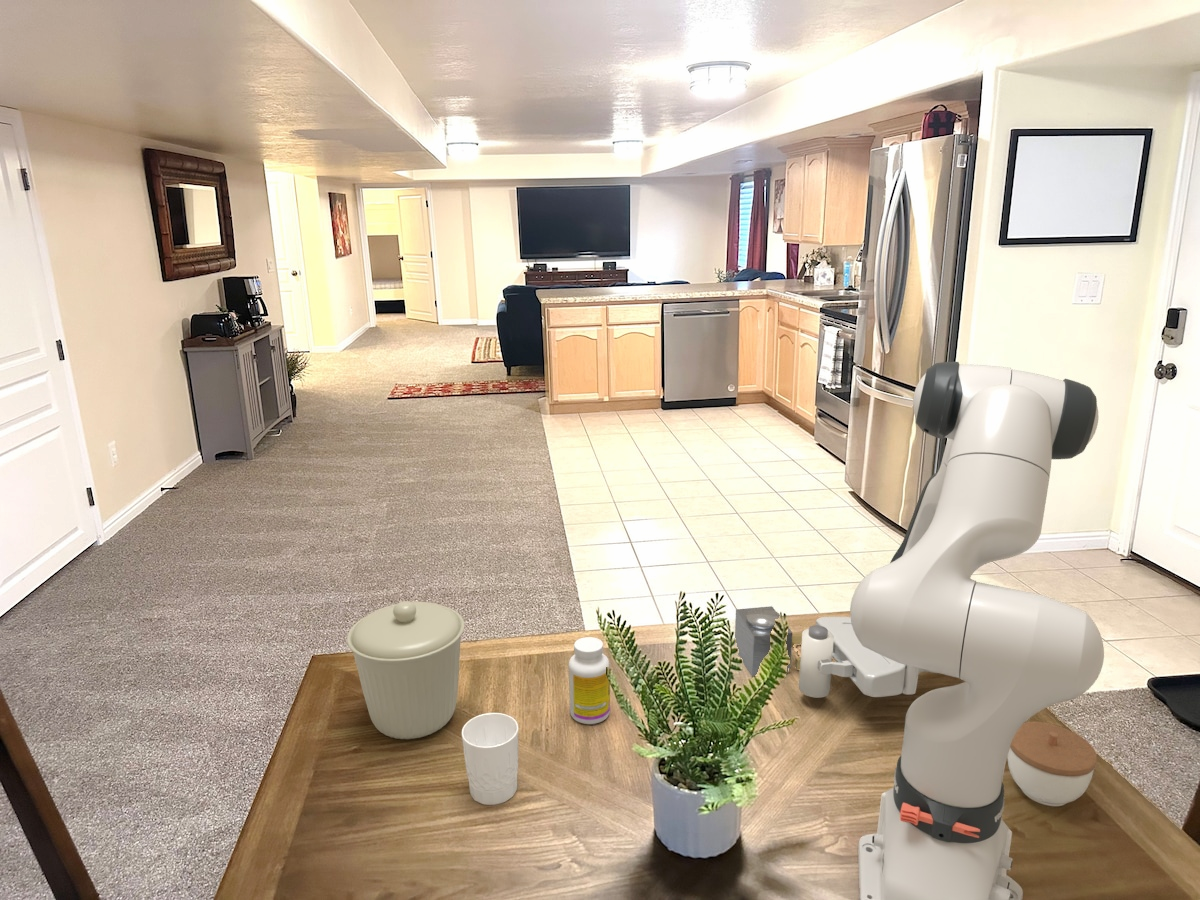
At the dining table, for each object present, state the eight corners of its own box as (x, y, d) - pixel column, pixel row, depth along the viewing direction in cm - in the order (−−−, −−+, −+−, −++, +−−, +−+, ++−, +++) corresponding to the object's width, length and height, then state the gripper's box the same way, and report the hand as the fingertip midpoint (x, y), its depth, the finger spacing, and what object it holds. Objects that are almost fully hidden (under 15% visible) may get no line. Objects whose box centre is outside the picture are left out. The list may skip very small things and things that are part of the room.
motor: (824, 669, 144) (827, 624, 141) (752, 676, 142) (754, 631, 139) (796, 633, 156) (799, 591, 153) (729, 639, 154) (731, 597, 151)
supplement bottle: (616, 720, 130) (615, 650, 126) (578, 730, 128) (576, 658, 124) (601, 698, 136) (600, 630, 132) (564, 707, 134) (562, 638, 130)
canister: (412, 770, 119) (400, 644, 113) (333, 729, 129) (318, 611, 123) (493, 709, 133) (486, 594, 127) (416, 677, 143) (406, 568, 137)
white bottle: (826, 700, 130) (830, 640, 127) (795, 692, 133) (799, 633, 130) (832, 685, 135) (837, 626, 132) (802, 678, 137) (806, 619, 134)
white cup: (532, 782, 116) (529, 722, 113) (498, 816, 110) (495, 754, 107) (489, 764, 120) (485, 706, 117) (454, 796, 114) (449, 736, 111)
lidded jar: (1101, 822, 107) (1113, 763, 104) (1015, 814, 109) (1025, 755, 106) (1069, 769, 117) (1080, 714, 115) (991, 762, 119) (1000, 708, 116)
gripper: (862, 604, 143) (788, 610, 141) (924, 664, 124) (839, 672, 121) (859, 636, 145) (786, 643, 143) (920, 700, 125) (836, 709, 123)
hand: (811, 657), depth 132 cm, fingers closed on white bottle, 5 cm apart
